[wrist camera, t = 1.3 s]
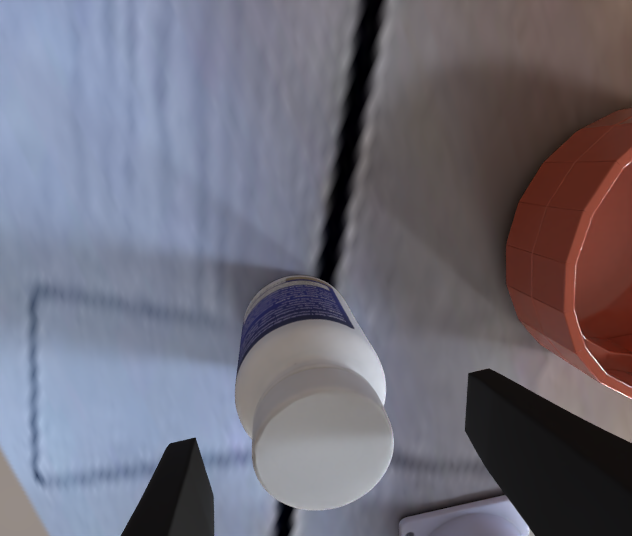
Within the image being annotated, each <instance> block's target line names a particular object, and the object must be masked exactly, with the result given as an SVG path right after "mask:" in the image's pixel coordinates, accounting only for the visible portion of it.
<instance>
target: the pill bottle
mask: <svg viewBox="0 0 632 536" xmlns="http://www.w3.org/2000/svg"><path fill="white" fill-rule="evenodd" d="M385 397H386V380H385V374H384V371H383V368H382V365H381V363H380V360H379V358H378V356H377V354H376V352H375V351H374V349H373V347H372V346H371V344H370V342H369V341H368V339H367V338H366V336H365V334H364V333H363V331H362V330H361V328H360V326H359V325H358V323H357V321H356V319H355V318H354V316H353V314H352V312H351V310H350V308H349V307H348V305H347V304H346V302H345V300H344V299H343V297H342V296H341V294H340V293H339V292H338V291H337V290H336V289H335V288H334V287H333V286H331V285H330V284H328V283H327V282H325V281H323V280H320V279H318V278H315V277H310V276H304V275H295V276H288V277H284V278H281V279H278V280H276V281H274V282H272V283H270V284H268V285H267V286H265V287H264V288H263V289H261V290H260V291H259V292H258V293H257V294H256V295H255V297H254V298H253V299H252V301H251V302H250V304H249V306H248V308H247V310H246V313H245V317H244V322H243V328H242V336H241V344H240V352H239V360H238V368H237V376H236V384H235V403H236V409H237V413H238V416H239V419H240V421H241V423H242V425H243V427H244V429H245V431H246V432H247V434H248V435H249V436H250V438H251V439H252V460H253V467H254V470H255V473H256V475H257V478H258V480H259V481H260V483H261V485H262V486H263V487H264V489H265V490H266V491H267V492H268V493H269V494H270V495H271V496H273V497H274V498H275V499H276V500H278V501H280V502H282V503H284V504H286V505H288V506H291V507H294V508H297V509H303V510H328V509H334V508H338V507H341V506H344V505H346V504H349V503H351V502H353V501H355V500H357V499H359V498H360V497H362V496H363V495H364V494H366V493H368V492H369V491H370V490H371V489H372V488H373V487H374V486H375V485H376V484H377V483H378V482H379V481H380V479H381V478H382V477H383V475H384V474H385V472H386V470H387V468H388V466H389V464H390V461H391V458H392V455H393V449H394V436H393V429H392V426H391V423H390V420H389V418H388V416H387V413H386V411H385V409H384V403H385Z"/></svg>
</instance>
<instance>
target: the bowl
mask: <svg viewBox="0 0 632 536" xmlns="http://www.w3.org/2000/svg"><path fill="white" fill-rule="evenodd" d="M506 244H507V245H506V284H507V288H508V291H509V294H510V297H511V299H512V302H513V305H514V308H515V311H516V314H517V317H518V318H519V321H520V322H521V323H522V324H523V325H524V327H525V328H526V329H527V330H528V331H529V332H530V334H531V335H532V336H533V337H534V338H535V339H536V341H537V342H538V343H539V344H540V345H542V346H543V347H545V348H546V349H548V350H549V351H551V352H553V353H554V354H556V355H557V356H559V357H560V358H562V359H563V360H565V361H567V362H568V363H570V364H571V365H573V366H574V367H576V368H577V369H579V370H581V371H582V372H584V373H585V374H587V375H588V376H590V377H591V378H593V379H595V380H596V381H598V382H599V383H601V384H603V385H605V386H607V387H609V388H611V389H613V390H615V391H616V392H618V393H620V394H622V395H624V396H626V397H628V398H630V399H632V108H627V109H621V110H618V111H615V112H614V113H612V114H610V115H608V116H606V117H604V118H602V119H600V120H598V121H596V122H594V123H592V124H590V125H588V126H586V127H584V128H582V129H580V130H579V131H576V132H575V133H574V134H573V135H572V136H571V137H570V138H569V139H568V140H567V141H566V142H565V143H563V144H562V145H561V146H560V147H559V148H558V149H557V150H556V151H555V152H554V153H553V154H552V155H551V156H550V157H548V158H547V159H546V160H545V161H544V163H542V165H541V167H540V168H539V170H538V171H537V173H536V175H535V176H534V178H533V180H532V181H531V183H530V184H529V186H528V188H527V189H526V191H525V192H524V194H523V196H522V197H521V199H520V201H519V203H518V206H517V209H516V212H515V216H514V219H513V222H512V226H511V229H510V233H509V236H508V239H507V243H506Z"/></svg>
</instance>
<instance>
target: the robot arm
mask: <svg viewBox="0 0 632 536" xmlns="http://www.w3.org/2000/svg"><path fill="white" fill-rule="evenodd" d="M465 431H466V433H467V435H468V437H469V439H470V441H471V442H472V444H473V446H474V448H475V450H476V452H477V453H478V455H479V457H480V458H481V460H482V462H483V464H484V465H485V467H486V468H487V470H488V471H489V473H490V474H491V475H492V477H493V478H494V480H495V481H496V482H497V484H498V485H499V487H500V488H501V489H502V491H503V492H504V494H505V495H502V496H498V497H494V498H489V499H485V500H480V501H476V502H471V503H467V504H463V505H458V506H454V507H449V508H445V509H440V510H436V511H431V512H427V513H423V514H418V515H414V516H409V517H405V518H403V519H402V520H401V521H400V523H399V533H400V536H529V528H530V529H531V531H532V532H533V533H534V535H535V536H632V443H630V442H628V441H626V440H624V439H622V438H620V437H618V436H616V435H613V434H611V433H609V432H607V431H605V430H603V429H601V428H599V427H597V426H595V425H593V424H591V423H589V422H587V421H585V420H583V419H582V418H580V417H578V416H576V415H574V414H572V413H570V412H568V411H566V410H565V409H563V408H561V407H559V406H557V405H555V404H553V403H552V402H550V401H548V400H546V399H544V398H543V397H541V396H539V395H537V394H535V393H533V392H532V391H530V390H528V389H526V388H524V387H523V386H521V385H519V384H517V383H515V382H514V381H512V380H510V379H508V378H506V377H505V376H503V375H501V374H499V373H497V372H495V371H493V370H491V369H485V370H481V371H476V372H472V373H468V388H467V405H466V421H465ZM121 536H214V496H213V492H212V489H211V486H210V482H209V479H208V476H207V473H206V470H205V466H204V463H203V460H202V457H201V453H200V450H199V447H198V444H197V441H196V438H191V439H187V440H183V441H179V442H174V443H170V444H169V445H168V447H167V448H166V450H165V452H164V454H163V456H162V458H161V460H160V462H159V464H158V466H157V468H156V470H155V472H154V474H153V476H152V478H151V480H150V482H149V484H148V486H147V488H146V490H145V492H144V494H143V496H142V498H141V500H140V502H139V503H138V505H137V507H136V509H135V511H134V513H133V514H132V516H131V518H130V520H129V522H128V523H127V525H126V527H125V529H124V531H123V533H122V534H121Z"/></svg>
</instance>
